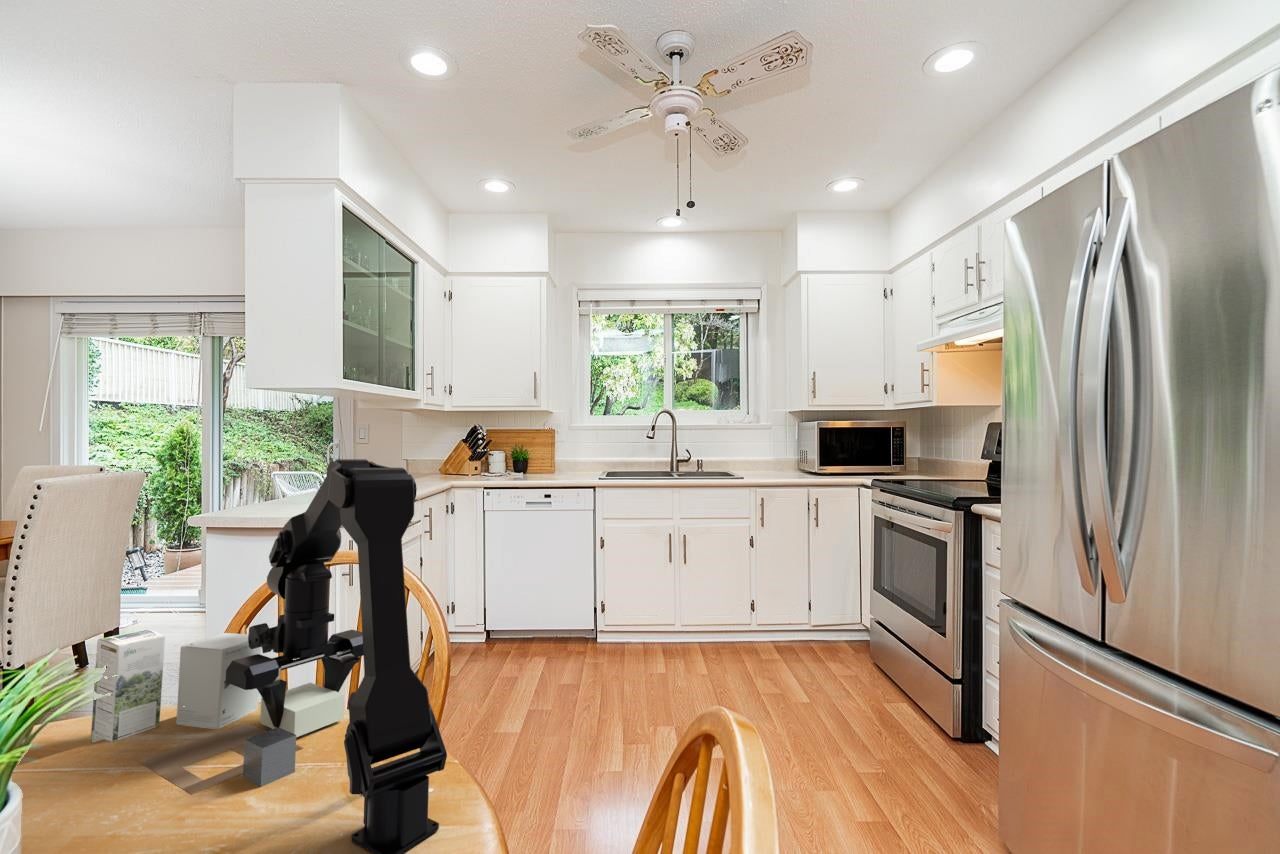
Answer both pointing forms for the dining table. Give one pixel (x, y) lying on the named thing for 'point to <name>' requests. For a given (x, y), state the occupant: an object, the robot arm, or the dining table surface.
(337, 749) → the dining table surface
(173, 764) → the walnut board
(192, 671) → the supplement box
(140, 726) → the syrup box
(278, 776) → the grey block
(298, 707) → the sage cover
